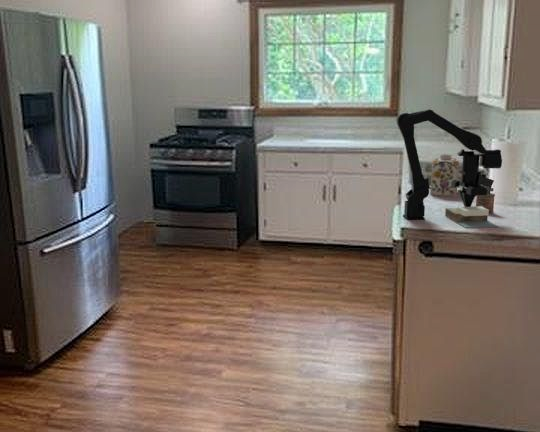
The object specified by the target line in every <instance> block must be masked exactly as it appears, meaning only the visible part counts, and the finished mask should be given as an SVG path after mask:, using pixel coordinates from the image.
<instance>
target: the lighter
mask: <svg viewBox="0 0 540 432" xmlns="http://www.w3.org/2000/svg"><path fill="white" fill-rule="evenodd" d="M484 187H486V186H484ZM486 188H487V189H488V195H477V196H476V197H475V198H476V199H475V206H482V207H484V208H486V209H488V210H489V214H490V215H491V214H494V212H495V211H494V205H495V197H496V194H495V193H492V192H494V191H495V190H494V188H493V187H491V188H488V187H486Z"/></svg>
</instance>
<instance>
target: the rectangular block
mask: <svg viewBox="0 0 540 432" xmlns="http://www.w3.org/2000/svg"><path fill="white" fill-rule="evenodd" d="M457 208H458V213H460V214H461V215H463V216H485V215H488V216H489V210H488V209H486V208H484V207H482V206H476V205H475V206H471V207H464V206H458V207H457Z"/></svg>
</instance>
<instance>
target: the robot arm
mask: <svg viewBox="0 0 540 432" xmlns="http://www.w3.org/2000/svg"><path fill="white" fill-rule="evenodd" d="M395 122H396V126H397V128H398V130H399V131H400V134H401V136H402V138H403V143H404V147H405V151H406V156H407V161H408V165H409V170H410V175H411V177H410V178H411V179H410V181H411V182H410V183H411V189H410V190H408V191H407V192H406V193H405V197H406V200H404V211H403V212H404V214H402V217H403V218H405V219H407V220H425V212H426V211H425V210H426V209H425V207H426V206H425V205H424V199H426V198H428V196H429V195H430V189H431V188H430V187H431V185H430V183H429V182H430V181H429V178H428V176H427V175H425V176H424V175H423V172H422V168H421V162H420V158H419V154H418V153H419V152H418V150H417V146H416V140H415V139H416V138H415V125H418V124H421V123H424V122H430V123H431V124H433V125H435V127H437V128H440V129H441V130H442V131H444V132H445V133H447V134H449V135H451V136H452V137H453V138H455V139H456V140H457V141H458V142H459V143H460V144H461V145H463V147H465V148H466V149H467V151H466V150H465V149H463V148H462V149H461V150H460V151H458V152H457V155H458V157H462V165H461V170H459V174H461V179H459V178H458V179H454V180H453V181H452V187H454V188H456V187H457V188H458V187H459V189H457V193H458V194H459V196H460V199H461V201H462V204H463V207H472V206H473V205H472V204H473V202H474V199H475V198H476V196H477V195H488V189H487V188H486V187H488V188H493V184H494V181H495V179H491V178H488V177H487V175H486V174H485V173H482V172H481V171H480V170H479V169H480V166H481V167H483V169H501V167H502V164H503V158H502V150H501V149H486V148H485V147H484V145H483V141H482V137H481V136H480V135H478V134H476V133H474V132H472V131H468V130H465V129H463V128H461V127H460V126H457V125H456V124H454V123H452V122H451V121H449V120H447V119H446V118H444V117H442V116H441V115H440V114H438V113H436V112H435V111H434V110H433V109H431V108H427V109H424V110H420V111H415V112H411V113H409V112H405V111H403V112H400V113H398V115H397V116H396V119H395ZM470 150H471V151H470ZM474 151H476V152H478V153H475V152H474ZM484 186H486V187H484Z"/></svg>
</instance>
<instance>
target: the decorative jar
mask: <svg viewBox="0 0 540 432" xmlns="http://www.w3.org/2000/svg"><path fill="white" fill-rule="evenodd" d="M459 161H460V160H459V159H457V158H453V157H452V154H446V153H445V154H440V157H436V158H433V159H432V162H431V174H430V188H431V189H429V195H430V196H444V197H445V196H446V197H458V187H456V188H454V187H452V181H453V180H454V179H459V165H460V163H459Z"/></svg>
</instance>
